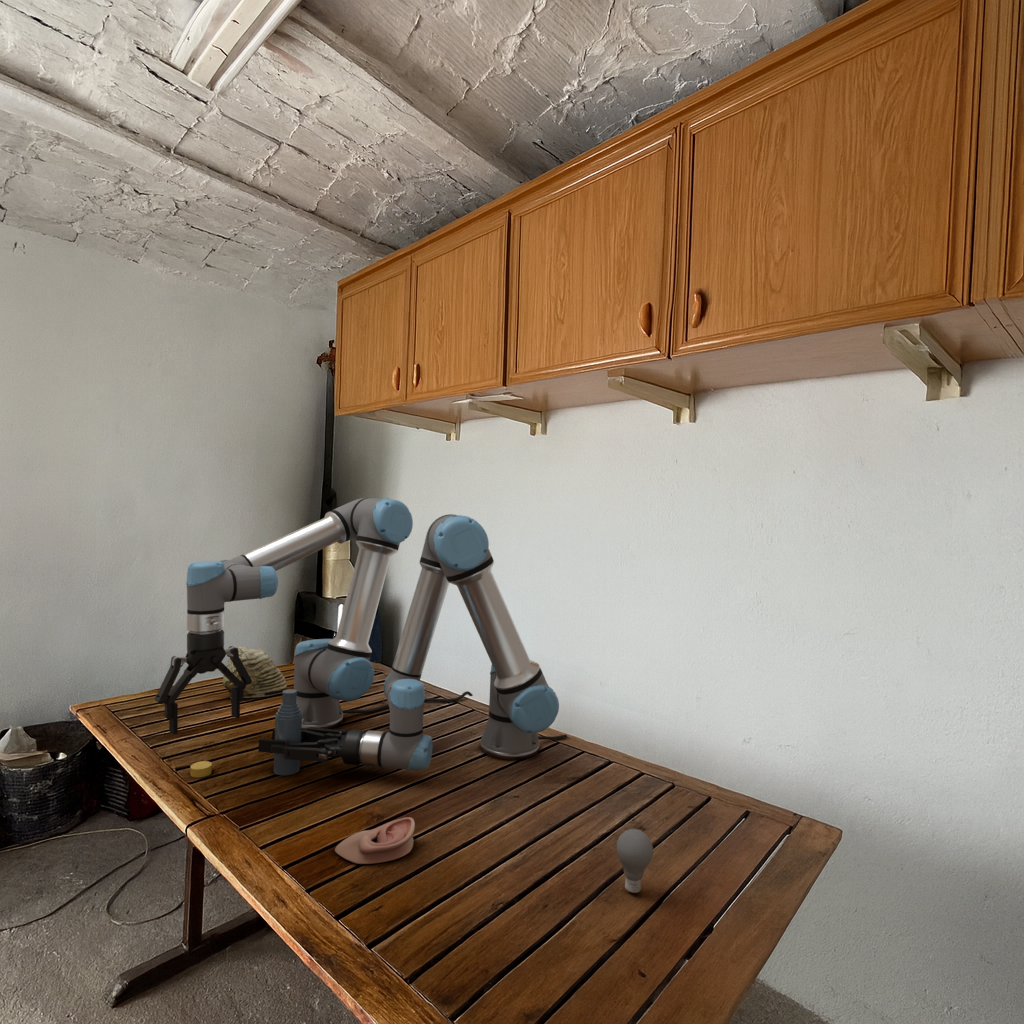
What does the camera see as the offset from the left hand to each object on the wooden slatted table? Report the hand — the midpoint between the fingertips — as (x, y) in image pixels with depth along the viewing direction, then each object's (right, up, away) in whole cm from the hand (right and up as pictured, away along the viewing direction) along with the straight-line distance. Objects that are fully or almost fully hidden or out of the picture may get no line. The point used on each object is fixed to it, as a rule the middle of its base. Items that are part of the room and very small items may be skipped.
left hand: (205, 724), depth 143 cm
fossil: (-12, -10, +55) cm, 58 cm away
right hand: (+12, -5, +4) cm, 14 cm away
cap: (-1, -9, 0) cm, 9 cm away
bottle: (+17, -12, +3) cm, 21 cm away
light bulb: (+89, -16, -37) cm, 98 cm away
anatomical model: (+44, -13, -27) cm, 54 cm away
